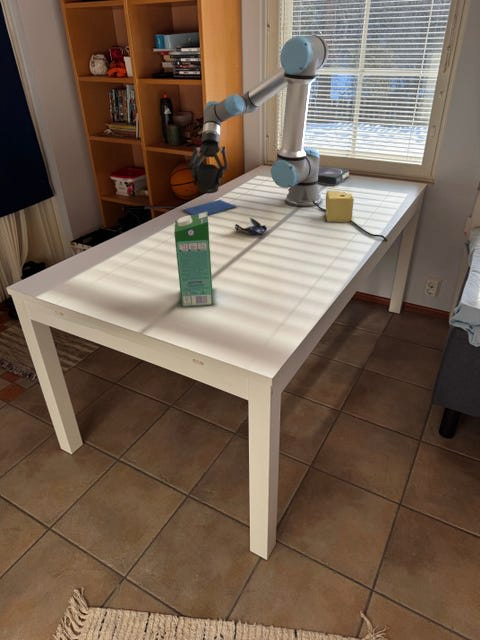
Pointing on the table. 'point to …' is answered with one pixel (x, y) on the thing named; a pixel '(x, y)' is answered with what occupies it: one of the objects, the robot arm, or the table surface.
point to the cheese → (339, 206)
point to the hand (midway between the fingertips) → (206, 184)
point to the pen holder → (207, 178)
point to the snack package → (252, 228)
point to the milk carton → (194, 259)
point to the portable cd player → (331, 175)
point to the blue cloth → (210, 208)
